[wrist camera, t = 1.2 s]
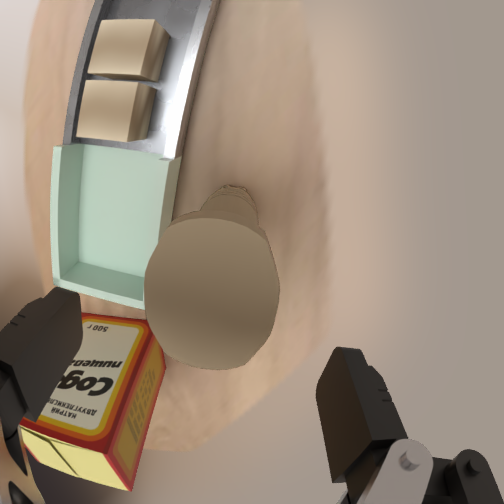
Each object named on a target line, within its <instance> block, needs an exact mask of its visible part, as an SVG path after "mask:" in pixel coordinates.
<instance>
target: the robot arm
mask: <svg viewBox="0 0 504 504" xmlns="http://www.w3.org/2000/svg"><path fill="white" fill-rule="evenodd" d="M82 340H83V325H82V315H81V303H80V296H79V294H78V293H77V292H74V291H70V290H67V289H64V288H61V287H55V288H54V289H52V290H51V291H50V292H49V293H48V294H47V295H46V296H45V297H44V298H39V299H36V300H34V301H32V302H30V303H28V304H27V305H26V306H25V307H24V308H23V309H22V310H21V311H20V312H19V313H18V315H17V316H15V317H14V318H13V319H12V320H11V321H10V324H9V323H8V324H7V325H6V326H5V327H4V328H3V329H2V330H1V332H0V504H45V502H44V500H43V498H42V496H41V494H40V492H39V490H38V489H37V487H36V485H35V482H34V480H33V476H32V473H31V469H30V466H29V462H28V458H27V454H26V450H25V445H24V441H23V436H22V431H21V427H20V425H19V423H20V421H21V420H22V418H23V417H25V418H27V419H29V420H31V421H33V422H35V423H36V421H37V420H38V418H39V416H40V414H41V412H42V411H43V409H44V407H45V405H46V404H47V402H48V400H49V398H50V397H51V395H52V393H53V392H54V390H55V388H56V387H57V385H58V383H59V382H60V380H61V378H62V377H63V375H64V373H65V372H66V370H67V368H68V367H69V365H70V364H71V362H72V361H73V359H74V357H75V356H76V354H77V353H78V351H79V349H80V347H81V344H82ZM387 390H388V389H387V387H386V384H385V382H384V380H383V378H382V376H381V375H380V374H379V373H378V372H377V371H376V370H375V369H374V368H373V367H372V366H368V364H367V362H366V360H365V358H364V355H363V353H362V351H361V350H360V349H354V348H345V347H336V348H335V349H334V350H333V353H332V355H331V356H330V359H329V361H328V363H327V365H326V367H325V369H324V371H323V373H322V375H321V377H320V379H319V381H318V384H317V388H316V401H317V406H318V411H319V416H320V421H321V426H322V431H323V435H324V441H325V446H326V452H327V457H328V462H329V468H330V473H331V478H332V483H343V482H346V484H347V490H346V491H345V492H344V493H343V495H342V496H341V498H340V499H339V501H338V502H337V504H504V502H503V499H502V497H501V494H500V491H499V489H498V486H497V484H496V482H495V479H494V477H493V474H492V472H491V469H490V467H489V465H488V462H487V461H486V459H485V458H484V457H483V456H482V455H481V454H480V453H479V452H477V451H475V450H470V449H467V450H463V451H461V452H460V453H459V454H458V455H457V456H456V457H455V458H454V459H453V460H449V459H442V458H435V457H432V456H431V454H430V452H429V451H428V449H427V448H426V447H425V446H424V445H423V444H421V443H419V442H418V441H415V440H412V439H408V437H407V434H406V432H405V429H404V427H403V424H402V422H401V419H400V417H399V415H398V412H397V410H396V408H395V405H394V403H393V402H392V398H391V396H390V394H389V392H387Z"/></svg>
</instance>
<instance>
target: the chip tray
mask: <svg viewBox="0 0 504 504" xmlns="http://www.w3.org/2000/svg"><path fill="white" fill-rule="evenodd" d="M163 156H164V155H162V154H155V153H149V152H142V151H135V150H128V149H121V148H113V147H105V146H97V145H88V144H74V145H57V146H54V149H53V160H52V174H51V198H50V232H51V256H52V271H53V282H54V285H56V286H59V287H63V288H66V289H69V290H73V291H76V292H79V293H83V294H86V295H90V296H93V297H97V298H101V299H104V300H108V301H112V302H115V303H119V304H123V305H127V306H131V307H135V308H139V309H143V310H145V305H144V277H145V270H146V267H147V264H148V262H149V259H150V257H151V255H152V253H153V252H154V250H155V248H156V246H157V244H158V242H159V241H160V239H161V237H162V235H163V234H164V232H165V230H166V229H167V227H168V226H169V225H170V223H171V221H172V214H173V207H174V200H175V194H176V188H177V182H178V176H179V170H180V164H181V159H182V156H181V157H178V158H176V159H168V158H163Z"/></svg>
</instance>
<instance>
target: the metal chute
mask: <svg viewBox="0 0 504 504" xmlns="http://www.w3.org/2000/svg"><path fill="white" fill-rule="evenodd" d="M219 2H220V0H95V3H94V6H93V8H92V11H91V14H90V17H89V20H88V24H87V27H86V30H85V34H84V37H83V41H82V44H81V48H80V52H79V56H78V60H77V64H76V68H75V72H74V77H73V82H72V87H71V92H70V97H69V103H68V109H67V115H66V122H65V129H64V137H63V145H74V144H88V145H97V146H105V147H113V148H121V149H128V150H135V151H142V152H149V153H155V154H162V155H164V156H163V158H168V159H176V158H178V157H181V156H182V153H183V148H184V143H185V138H186V133H187V128H188V123H189V118H190V114H191V109H192V104H193V100H194V96H195V91H196V87H197V83H198V79H199V75H200V70H201V67H202V63H203V59H204V55H205V51H206V47H207V44H208V40H209V36H210V33H211V29H212V26H213V22H214V19H215V16H216V12H217V9H218V6H219ZM117 19H155V20H156V21H157V22H158V23H159V24H160V25H161V26H162V27H163V28H164V29H165V30H166V31H167V32H168V33H169V35H170V37H169V40H168V44H167V47H166V51H165V55H164V59H163V63H162V67H161V71H160V75H159V79H158V82H147V81H134V80H117V79H109V78H105V77H101V76H97V75H93V74H89V73H88V68H89V64H90V60H91V56H92V52H93V48H94V45H95V41H96V38H97V34H98V31H99V27H100V24H101V21H102V20H117ZM86 80H108V81H128V82H139V83H142V84H145V85H148V86H150V87H153V88H156V92H155V97H154V102H153V106H152V111H151V116H150V122H149V127H148V132H147V138H146V139H144V140H138V141H131V142H120V141H112V140H104V139H95V138H85V137H76V135H77V127H78V121H79V114H80V108H81V103H82V97H83V92H84V87H85V82H86Z"/></svg>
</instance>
